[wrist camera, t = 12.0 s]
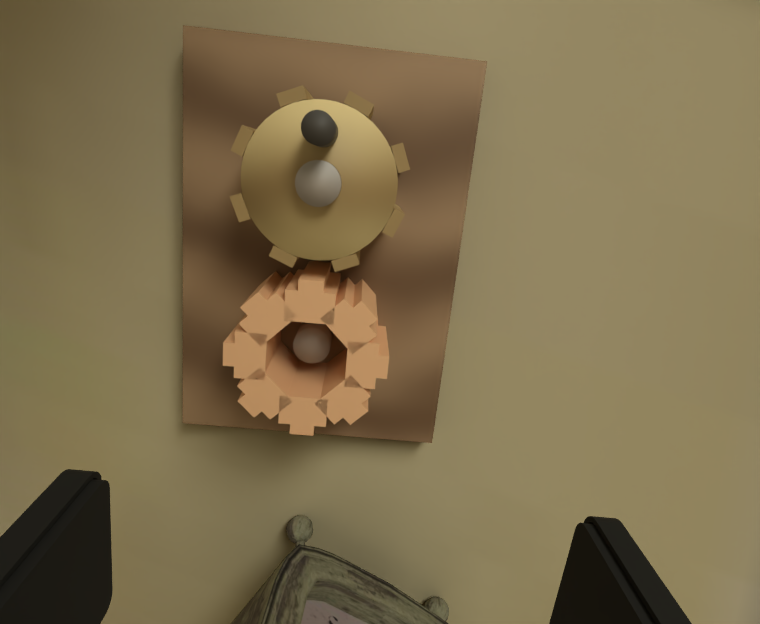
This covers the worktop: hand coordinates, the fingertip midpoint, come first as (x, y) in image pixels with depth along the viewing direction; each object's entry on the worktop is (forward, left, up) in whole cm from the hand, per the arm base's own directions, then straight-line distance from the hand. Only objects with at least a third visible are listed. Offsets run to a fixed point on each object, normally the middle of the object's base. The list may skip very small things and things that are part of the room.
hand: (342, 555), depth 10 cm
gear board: (-3, -2, -19) cm, 20 cm away
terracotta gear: (+1, -2, -18) cm, 18 cm away
